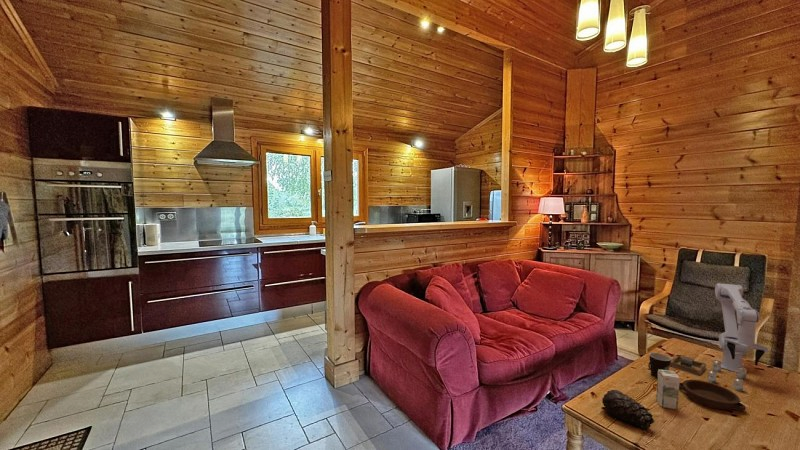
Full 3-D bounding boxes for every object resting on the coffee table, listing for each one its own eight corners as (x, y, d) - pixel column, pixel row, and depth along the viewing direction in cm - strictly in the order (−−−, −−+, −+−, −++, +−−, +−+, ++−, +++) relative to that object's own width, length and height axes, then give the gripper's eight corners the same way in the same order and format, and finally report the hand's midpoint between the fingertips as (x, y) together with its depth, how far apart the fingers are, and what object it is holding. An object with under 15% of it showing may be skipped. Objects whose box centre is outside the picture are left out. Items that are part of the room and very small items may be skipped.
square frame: (676, 359, 181) (676, 355, 181) (705, 368, 171) (705, 364, 171) (669, 366, 174) (669, 361, 174) (699, 375, 164) (699, 371, 164)
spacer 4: (734, 387, 154) (735, 377, 153) (743, 390, 151) (744, 380, 151) (732, 389, 152) (733, 379, 152) (741, 392, 150) (742, 382, 149)
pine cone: (651, 437, 122) (652, 411, 122) (598, 414, 136) (599, 390, 135) (658, 424, 129) (659, 400, 128) (607, 403, 143) (607, 381, 142)
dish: (740, 422, 130) (741, 410, 130) (671, 396, 148) (671, 385, 148) (749, 406, 140) (750, 394, 140) (683, 383, 158) (683, 373, 158)
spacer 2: (713, 368, 171) (714, 359, 171) (721, 371, 169) (721, 361, 168) (712, 370, 169) (712, 361, 169) (719, 372, 167) (720, 363, 166)
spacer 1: (708, 379, 161) (709, 369, 161) (716, 381, 159) (717, 371, 158) (706, 381, 159) (707, 371, 159) (715, 384, 157) (715, 373, 157)
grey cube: (682, 364, 175) (683, 355, 175) (693, 368, 172) (694, 359, 171) (680, 367, 173) (680, 358, 172) (691, 370, 169) (691, 361, 169)
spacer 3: (737, 376, 164) (738, 366, 163) (746, 378, 161) (747, 368, 161) (736, 378, 162) (737, 368, 162) (745, 380, 160) (746, 370, 159)
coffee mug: (662, 371, 168) (663, 352, 168) (674, 381, 160) (675, 361, 159) (638, 370, 170) (638, 352, 169) (649, 379, 161) (649, 360, 160)
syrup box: (671, 402, 143) (673, 370, 142) (678, 410, 137) (679, 377, 136) (656, 400, 145) (657, 368, 144) (661, 408, 139) (663, 375, 138)
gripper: (723, 331, 161) (721, 358, 162) (767, 341, 149) (765, 370, 150) (726, 328, 165) (725, 354, 166) (769, 337, 153) (767, 365, 154)
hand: (744, 361), depth 158 cm, fingers open, 7 cm apart
